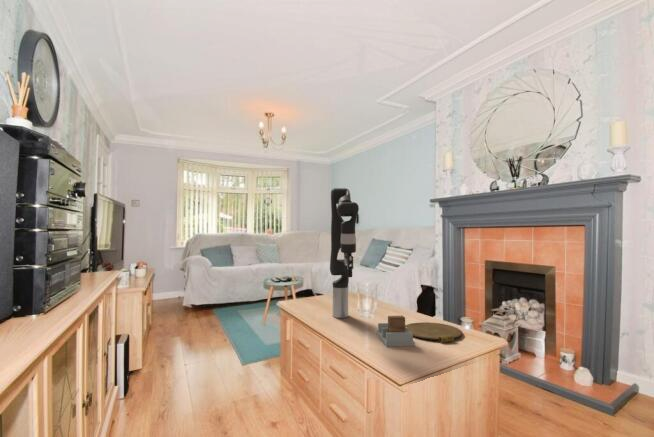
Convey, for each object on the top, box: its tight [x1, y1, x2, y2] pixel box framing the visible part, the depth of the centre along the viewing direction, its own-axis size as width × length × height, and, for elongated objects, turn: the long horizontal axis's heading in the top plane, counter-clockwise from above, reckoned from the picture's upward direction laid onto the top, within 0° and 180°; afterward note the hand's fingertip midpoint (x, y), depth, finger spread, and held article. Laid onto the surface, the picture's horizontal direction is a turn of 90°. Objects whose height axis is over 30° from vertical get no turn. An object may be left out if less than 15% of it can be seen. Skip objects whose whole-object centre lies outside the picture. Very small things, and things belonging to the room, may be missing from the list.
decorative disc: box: [405, 321, 464, 344], centre depth 156 cm, size 29×3×30 cm
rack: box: [376, 322, 416, 348], centre depth 146 cm, size 16×13×6 cm
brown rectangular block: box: [387, 315, 406, 333], centre depth 143 cm, size 4×7×10 cm, turn 96°
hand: (348, 275), depth 155 cm, fingers open, 8 cm apart
